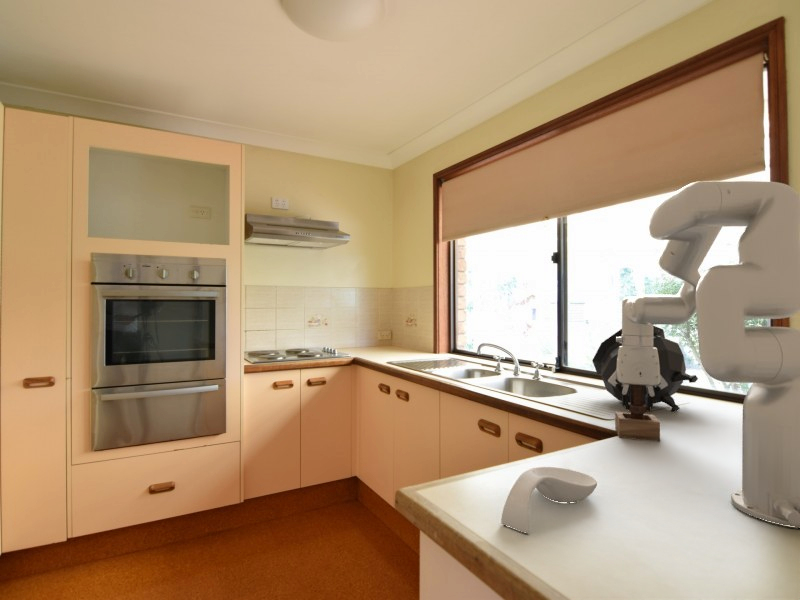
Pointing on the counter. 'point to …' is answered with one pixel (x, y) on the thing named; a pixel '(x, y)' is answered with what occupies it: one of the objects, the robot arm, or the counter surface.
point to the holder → (637, 427)
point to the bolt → (637, 402)
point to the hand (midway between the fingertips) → (637, 408)
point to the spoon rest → (544, 492)
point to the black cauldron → (668, 362)
